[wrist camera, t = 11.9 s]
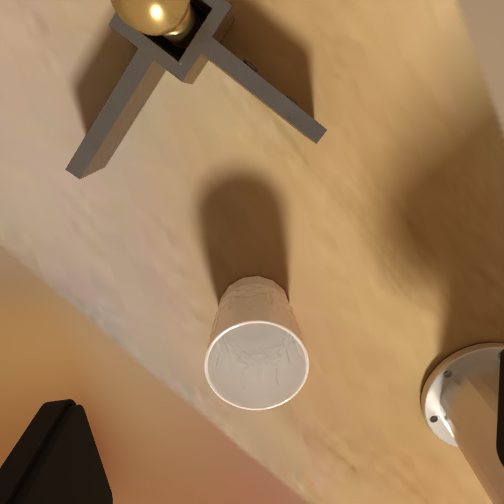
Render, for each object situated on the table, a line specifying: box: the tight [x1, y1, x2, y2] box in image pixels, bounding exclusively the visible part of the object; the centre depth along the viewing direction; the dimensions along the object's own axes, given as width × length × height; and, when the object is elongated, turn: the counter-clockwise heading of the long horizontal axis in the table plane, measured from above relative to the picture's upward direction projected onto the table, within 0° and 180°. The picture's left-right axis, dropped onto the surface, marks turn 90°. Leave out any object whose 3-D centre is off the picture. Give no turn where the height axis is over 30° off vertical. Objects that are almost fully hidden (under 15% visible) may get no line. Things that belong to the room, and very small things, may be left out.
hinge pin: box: [111, 0, 201, 48], centre depth 28 cm, size 4×4×13 cm
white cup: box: [204, 276, 309, 410], centre depth 38 cm, size 8×8×10 cm
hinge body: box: [65, 0, 327, 179], centre depth 34 cm, size 16×16×6 cm
